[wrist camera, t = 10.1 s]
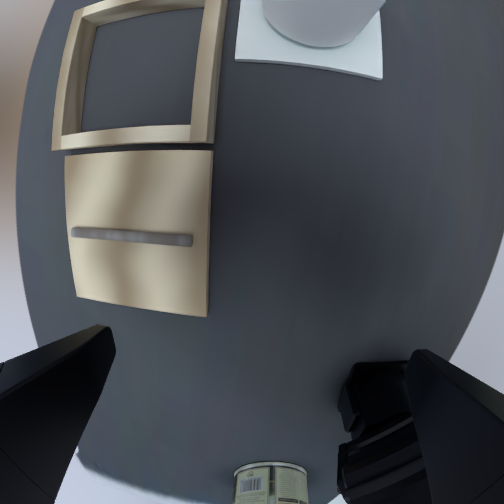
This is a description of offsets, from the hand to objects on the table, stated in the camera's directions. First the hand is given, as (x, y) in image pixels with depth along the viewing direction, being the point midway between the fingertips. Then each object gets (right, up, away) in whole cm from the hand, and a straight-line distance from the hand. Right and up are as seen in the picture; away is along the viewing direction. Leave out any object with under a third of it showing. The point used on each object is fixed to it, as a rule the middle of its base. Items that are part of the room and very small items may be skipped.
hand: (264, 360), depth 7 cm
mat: (+4, +20, +7) cm, 22 cm away
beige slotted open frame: (-9, +10, +11) cm, 17 cm away
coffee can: (+2, -28, +23) cm, 37 cm away
